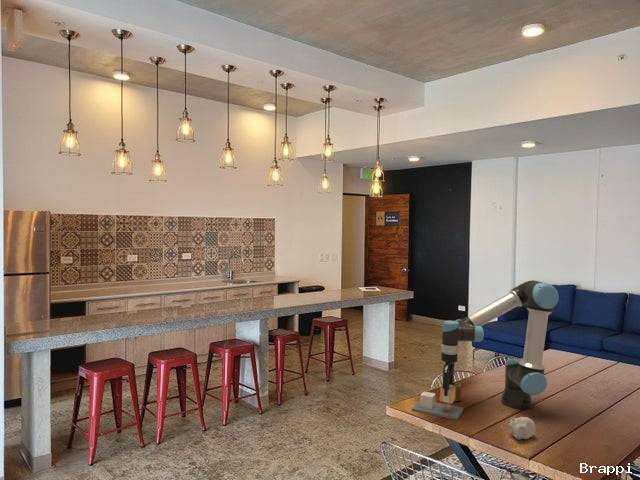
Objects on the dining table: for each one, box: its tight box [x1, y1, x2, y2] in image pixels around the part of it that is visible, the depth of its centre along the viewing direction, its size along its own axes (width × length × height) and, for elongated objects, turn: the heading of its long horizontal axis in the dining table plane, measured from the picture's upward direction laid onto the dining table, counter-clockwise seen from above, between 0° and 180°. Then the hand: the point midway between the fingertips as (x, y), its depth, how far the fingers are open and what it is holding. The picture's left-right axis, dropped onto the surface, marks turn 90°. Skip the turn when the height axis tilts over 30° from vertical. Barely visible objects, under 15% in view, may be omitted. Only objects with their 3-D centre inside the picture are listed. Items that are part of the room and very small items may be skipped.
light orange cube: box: [439, 385, 456, 404], centre depth 233 cm, size 6×6×6 cm
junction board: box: [411, 391, 464, 421], centre depth 236 cm, size 22×14×7 cm, turn 62°
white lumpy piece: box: [509, 415, 536, 440], centre depth 209 cm, size 9×11×15 cm
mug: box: [453, 382, 462, 402], centre depth 253 cm, size 12×10×10 cm
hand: (447, 399), depth 233 cm, fingers closed on light orange cube, 6 cm apart
